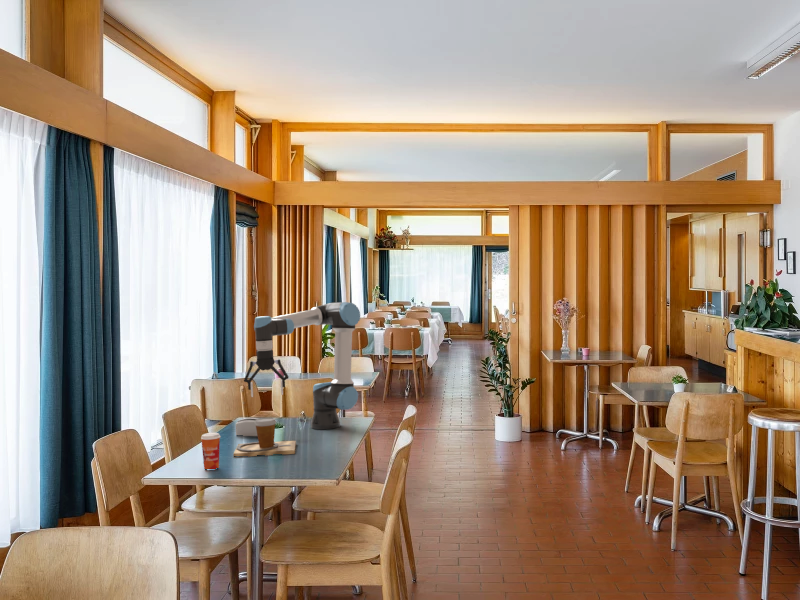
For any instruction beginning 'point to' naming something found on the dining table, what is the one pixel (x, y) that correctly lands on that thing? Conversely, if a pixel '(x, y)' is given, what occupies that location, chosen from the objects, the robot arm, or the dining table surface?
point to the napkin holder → (246, 427)
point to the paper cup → (210, 450)
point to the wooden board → (265, 449)
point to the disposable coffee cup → (265, 432)
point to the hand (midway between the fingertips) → (267, 395)
